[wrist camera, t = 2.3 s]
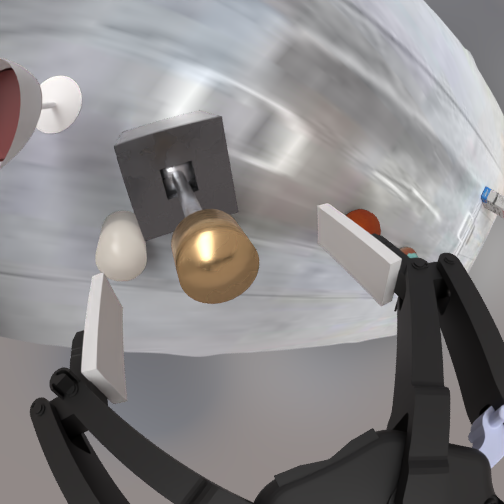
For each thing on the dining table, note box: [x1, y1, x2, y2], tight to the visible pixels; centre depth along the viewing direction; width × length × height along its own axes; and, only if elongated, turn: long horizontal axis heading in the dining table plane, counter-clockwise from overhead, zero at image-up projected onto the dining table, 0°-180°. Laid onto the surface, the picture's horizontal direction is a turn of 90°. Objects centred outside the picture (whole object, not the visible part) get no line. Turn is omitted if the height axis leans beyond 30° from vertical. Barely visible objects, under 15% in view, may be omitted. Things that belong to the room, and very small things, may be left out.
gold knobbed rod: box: [160, 161, 259, 304], centre depth 22 cm, size 7×7×19 cm
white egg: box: [95, 211, 147, 281], centre depth 37 cm, size 7×7×8 cm
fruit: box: [346, 209, 381, 235], centre depth 53 cm, size 9×9×8 cm
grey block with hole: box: [114, 110, 238, 241], centre depth 33 cm, size 11×11×12 cm
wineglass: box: [0, 58, 82, 169], centre depth 18 cm, size 9×10×22 cm
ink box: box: [481, 187, 504, 219], centre depth 71 cm, size 9×5×12 cm, turn 55°
